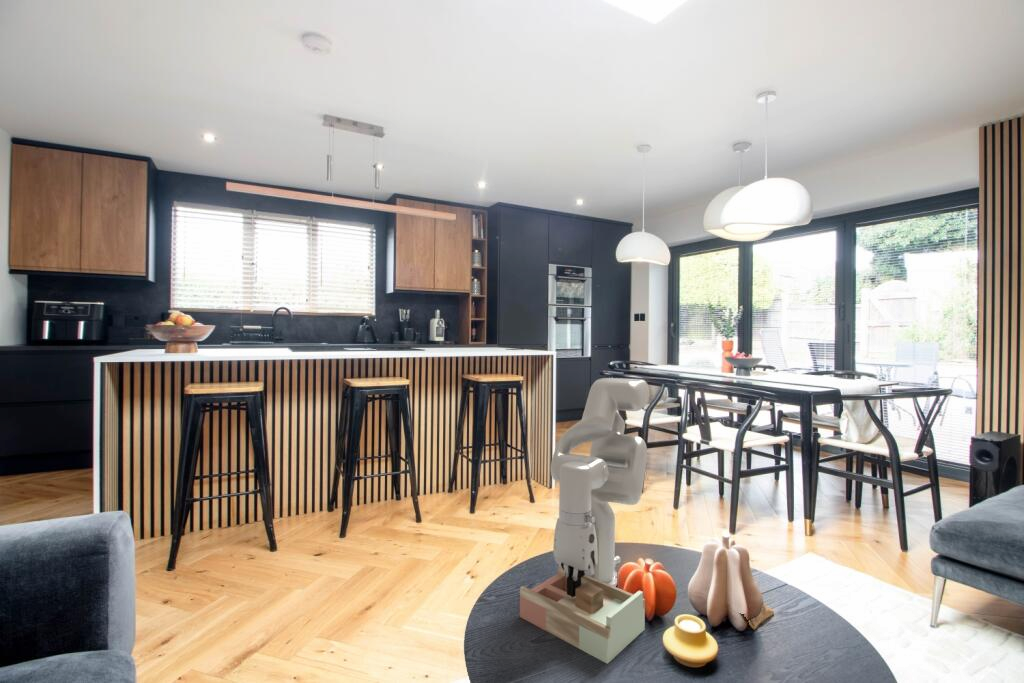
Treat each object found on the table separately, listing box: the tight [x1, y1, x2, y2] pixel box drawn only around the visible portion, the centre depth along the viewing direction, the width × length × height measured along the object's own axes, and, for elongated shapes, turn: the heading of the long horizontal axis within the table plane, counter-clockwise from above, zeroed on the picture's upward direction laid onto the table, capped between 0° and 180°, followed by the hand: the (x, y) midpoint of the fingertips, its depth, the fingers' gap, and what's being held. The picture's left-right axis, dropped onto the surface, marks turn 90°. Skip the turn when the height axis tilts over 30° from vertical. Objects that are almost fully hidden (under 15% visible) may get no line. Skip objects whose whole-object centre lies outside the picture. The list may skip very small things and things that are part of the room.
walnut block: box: [575, 582, 603, 614], centre depth 110 cm, size 4×4×4 cm
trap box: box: [519, 564, 646, 665], centre depth 112 cm, size 16×24×9 cm, turn 47°
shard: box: [748, 604, 775, 630], centre depth 116 cm, size 11×8×2 cm
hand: (573, 593), depth 113 cm, fingers closed
